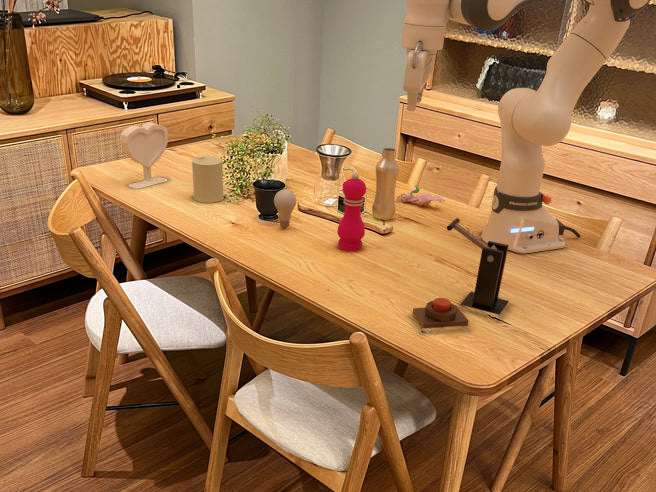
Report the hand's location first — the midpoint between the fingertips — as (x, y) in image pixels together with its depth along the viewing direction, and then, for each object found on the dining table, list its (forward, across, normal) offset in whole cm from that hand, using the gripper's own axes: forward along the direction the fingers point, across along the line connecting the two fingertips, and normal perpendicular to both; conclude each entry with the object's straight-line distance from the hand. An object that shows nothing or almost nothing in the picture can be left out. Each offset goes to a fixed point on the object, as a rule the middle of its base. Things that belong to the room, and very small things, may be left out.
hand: (414, 106), depth 156 cm
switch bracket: (+39, -15, -23) cm, 48 cm away
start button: (+35, -27, -14) cm, 46 cm away
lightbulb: (+39, +15, +33) cm, 53 cm away
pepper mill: (+39, +8, +13) cm, 42 cm away
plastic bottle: (+39, +33, +8) cm, 51 cm away
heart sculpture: (+40, +36, +85) cm, 101 cm away
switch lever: (+25, -14, -18) cm, 34 cm away
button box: (+39, -26, -14) cm, 49 cm away
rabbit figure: (+39, +48, 0) cm, 62 cm away
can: (+40, +30, +62) cm, 80 cm away
